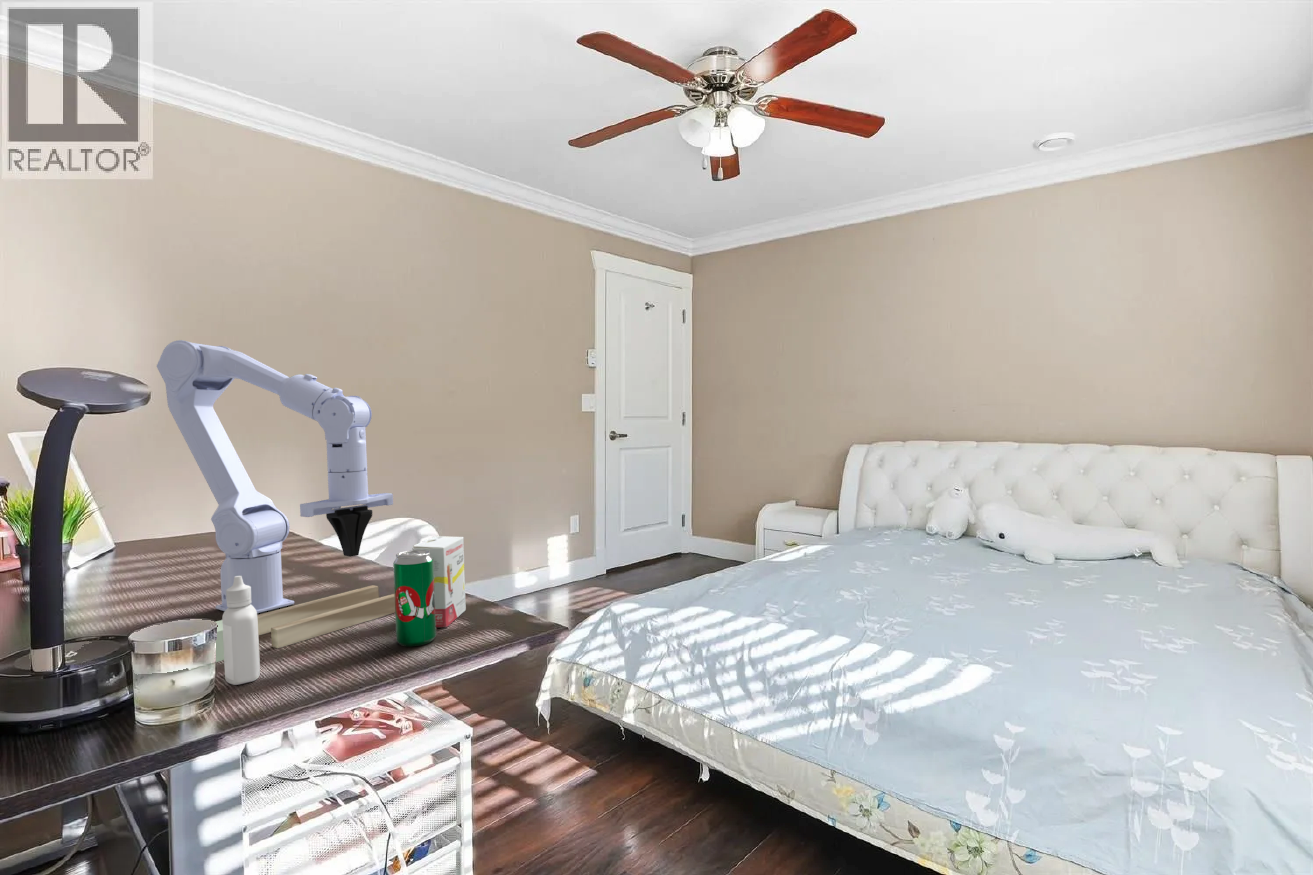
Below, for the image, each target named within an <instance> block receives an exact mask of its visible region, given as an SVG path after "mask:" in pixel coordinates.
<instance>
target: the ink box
mask: <svg viewBox="0 0 1313 875" xmlns="http://www.w3.org/2000/svg"><path fill="white" fill-rule="evenodd" d="M464 539H465V537H464V536H445V535H439V536H438V535H437V536H436V535H435V536H432V537H429V538H428V539H425V540H423V541H421V542H419V543H416V544H414V545H412V549H411V550H428V551H430V555H431V557H432V558H433V560H434V586H435V613H436V628H448V627H449V626H450V625H451V624H452V623H453V622H455V621H456V620H457V618H459V616H460V617H461V615H462V614H463V613H465V611H466V610H467V606H466V578H465V552H464V551H465V549H464V548H465V547H464V546H465V544H464V543H465V542H464Z"/></svg>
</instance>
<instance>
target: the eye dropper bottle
mask: <svg viewBox="0 0 1313 875" xmlns="http://www.w3.org/2000/svg"><path fill="white" fill-rule="evenodd" d="M226 598H227V607H228V608H227V609H226V610H225V611H223V613H222V619H221V620H222V626H223V646H224V660H223V661H224V662H223V664H224V678H225V679H224V680H225V681H226V683H228V684H230V685H232V686H233V685H234V686H237V685H239V686H240V685H242V684H247V683H251V682H255V681H257V680H258V678H259V677H260V675H261V663H260V662H261V661H260V644H259V643H260V641H259V635H258V618H257V615H258V613H257V611H256V609H255V608H254V607H253V606H252V605H251V604H250V603H251V587H250V586H248V585H245V584H244V583H243V580H242V576H235V577H234V582H233V585H232V587H230V588H228V589H227V590H226Z"/></svg>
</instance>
